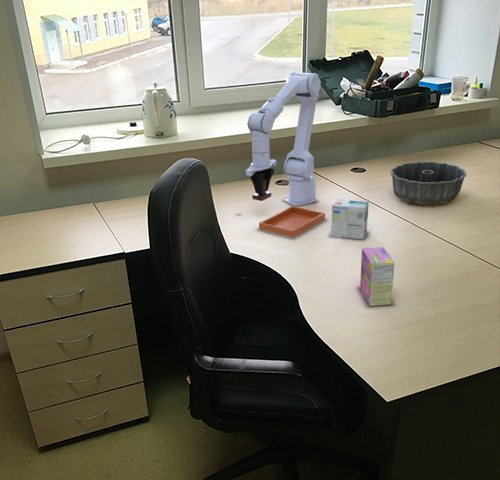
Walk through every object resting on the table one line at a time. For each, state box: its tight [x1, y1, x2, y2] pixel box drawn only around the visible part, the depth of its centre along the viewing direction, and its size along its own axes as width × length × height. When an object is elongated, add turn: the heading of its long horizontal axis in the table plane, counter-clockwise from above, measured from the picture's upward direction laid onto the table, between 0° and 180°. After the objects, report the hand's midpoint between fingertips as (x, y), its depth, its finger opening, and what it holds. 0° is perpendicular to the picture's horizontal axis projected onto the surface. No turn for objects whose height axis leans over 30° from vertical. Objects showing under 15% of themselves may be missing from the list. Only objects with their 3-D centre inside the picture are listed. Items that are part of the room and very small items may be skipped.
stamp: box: [252, 179, 272, 202], centre depth 199 cm, size 6×4×6 cm
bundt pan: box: [390, 161, 467, 206], centre depth 214 cm, size 26×26×10 cm
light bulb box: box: [330, 198, 370, 240], centre depth 187 cm, size 11×7×11 cm, turn 71°
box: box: [359, 246, 396, 307], centre depth 150 cm, size 10×6×12 cm, turn 5°
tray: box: [258, 205, 326, 238], centre depth 198 cm, size 20×14×2 cm
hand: (261, 191), depth 199 cm, fingers closed on stamp, 3 cm apart
